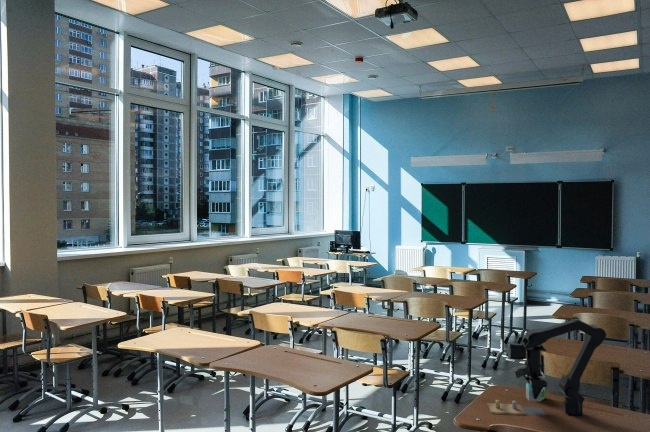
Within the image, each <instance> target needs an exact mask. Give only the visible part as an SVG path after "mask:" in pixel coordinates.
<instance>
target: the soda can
mask: <svg viewBox="0 0 650 432" xmlns="http://www.w3.org/2000/svg"><path fill="white" fill-rule="evenodd" d="M541 373H542V378H544V379H545V380H546V376H545V374H544V373H543V371H541ZM526 383H528V382H526ZM545 398H546V387H543V389H542V390H541V401H543V400H544V399H545Z"/></svg>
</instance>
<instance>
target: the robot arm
mask: <svg viewBox="0 0 650 432" xmlns="http://www.w3.org/2000/svg"><path fill="white" fill-rule="evenodd" d="M574 331H580V332H582V333H584V336H583V339H584V340H583V345H582V347H581V348H580V351H579V352H578V354H577V356H576V358H575V360H574V363H573V365H572V366H571V369H570V371H569V372H568V373H567V374H564V373H563V374H562V375H561V378H560V379H559V380H558V383H559V384H558V387H559V390H560V391H561V392H562V393H563V395H564V400H563V403H562V404H563V405H562V407H563V409H562V410H563V412H564V413H565V414H566V415H567V416H569V417H585V415H584V413H583V410H584V409H583V406H584V405H583V403H584V401H585V397H584V396H583V395H582V394H581V393H580V392H579V391H580V388H581V378H582V376H583V374H584V373H585V371H586V368H587V367H588V364H589V363H590V360H591V358H592V357H593V355H594V352H595V350H596V349H597V348H599V346H601V345H602V344H603V343H604V341H605V339H606V338H607V333H606V331H605V329H603V328H602V327H600V326H598V325H597V324H588V323H586V322H585V321H581V320H580V319H578V318H572V319H570V320H567V321H565V322H561V323H558V324H554V325H552V326H549V327H545V328H533V329H532V328H531V329H529V330H527V331H526V333H525V336H524V338H523V339H522V340H521V341H520V343H512V342H510V343H509V344H508V346H507V347H508V348H507V358H508V360H510V361H511V360H512V361H523V360H524V359H525V361H524V364H522V365H518V366H515V367H512V372H513V374H514V376H515V378H516V379H519V378H521V377H523V378H524V380H526V381H527V382H528V383H529V385H530V386H531V387H532V391H533V396H534V399H537V398H538V396H539V394H540V392H541V390H542V389H543V387H545V388H548V381H547V380H546V378H545V379H544V378H542V373H543V372H542V367H543V363H542V352H546V351H547V349H546V348H545V347H544V346H543V344H544V343H545V344H546V342H547V341H549V339H553V338H556V337H559V336H562V335H565V334H567V333H571V332H574ZM541 372H542V373H541ZM527 382H526V383H527Z"/></svg>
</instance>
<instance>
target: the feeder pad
mask: <svg viewBox="0 0 650 432" xmlns="http://www.w3.org/2000/svg"><path fill="white" fill-rule="evenodd" d="M522 408H523V410H524V411H525V413H526V415H530V416H531V415H532V416H533V415H535V416H547V414H546V413H545V411H544V410H543V408H542V407H531V406H530V407H529V406H528V407H527V406H522Z"/></svg>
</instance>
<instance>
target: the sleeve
mask: <svg viewBox="0 0 650 432" xmlns="http://www.w3.org/2000/svg"><path fill="white" fill-rule="evenodd" d="M525 397H526V399H527V400H528V401H529V402H542V400H541V392H540V394H539V396H538V398H537V399H534V396H533V391H532V387H531V386H530V385H529V383H527V382H526V383H525Z"/></svg>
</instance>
